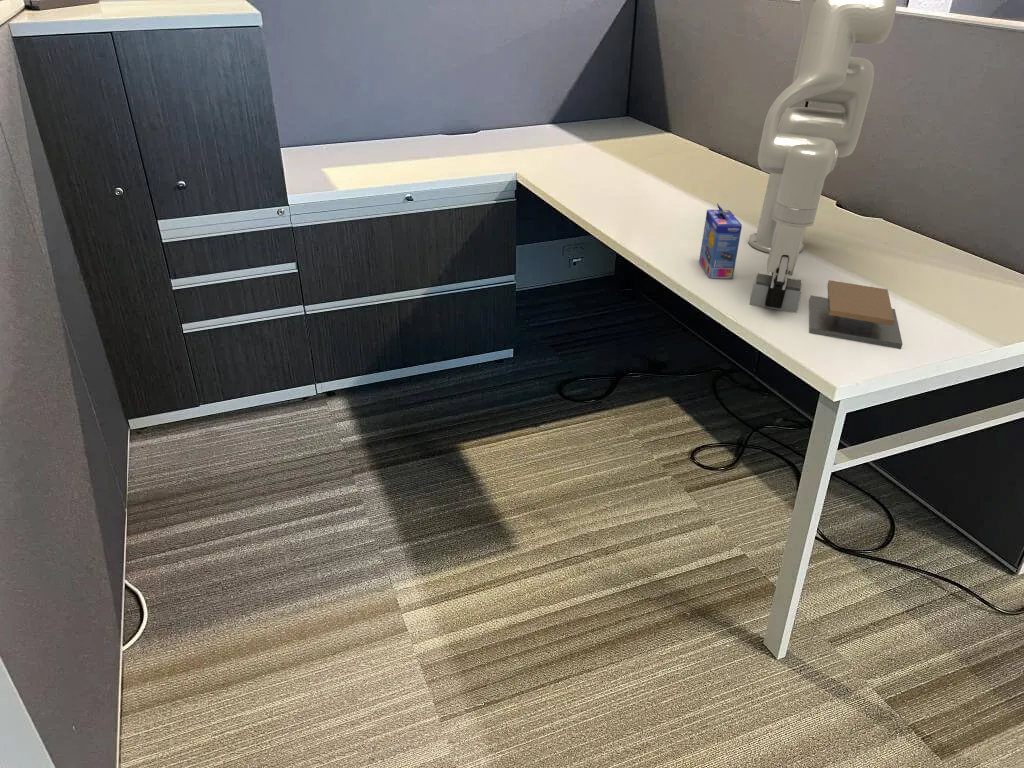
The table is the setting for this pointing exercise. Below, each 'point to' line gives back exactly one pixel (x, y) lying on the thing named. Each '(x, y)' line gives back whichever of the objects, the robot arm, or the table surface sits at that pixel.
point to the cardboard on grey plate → (855, 314)
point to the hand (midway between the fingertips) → (773, 300)
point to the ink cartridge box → (720, 243)
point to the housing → (790, 295)
